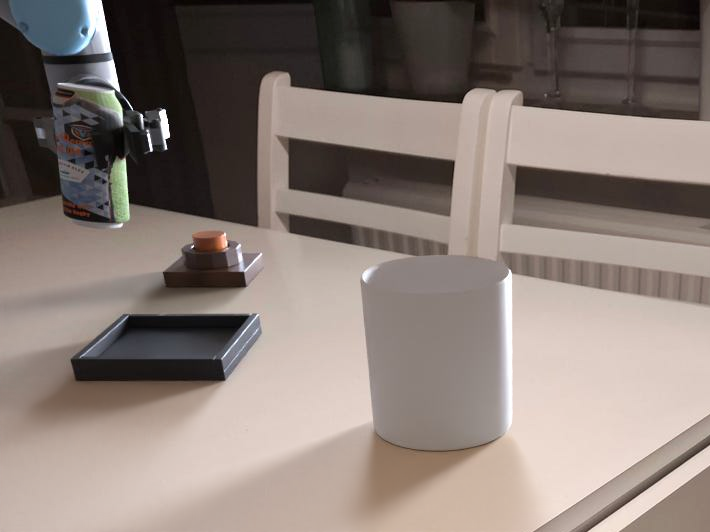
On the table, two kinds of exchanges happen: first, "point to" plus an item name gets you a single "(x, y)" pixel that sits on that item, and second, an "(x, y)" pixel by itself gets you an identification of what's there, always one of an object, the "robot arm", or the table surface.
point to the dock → (168, 347)
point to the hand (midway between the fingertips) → (119, 150)
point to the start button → (209, 241)
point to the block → (213, 267)
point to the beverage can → (91, 155)
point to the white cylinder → (439, 350)
